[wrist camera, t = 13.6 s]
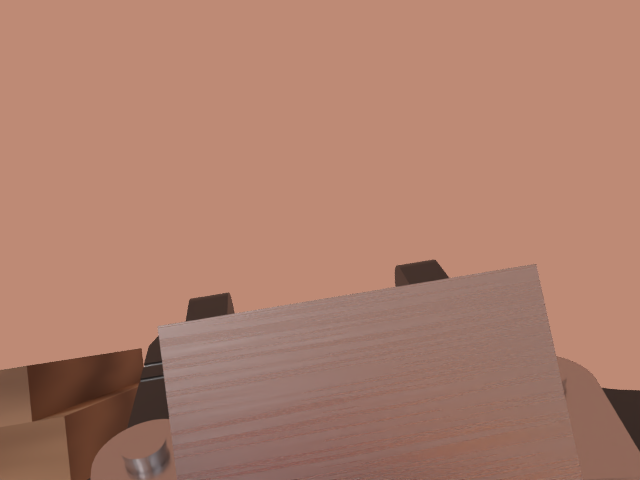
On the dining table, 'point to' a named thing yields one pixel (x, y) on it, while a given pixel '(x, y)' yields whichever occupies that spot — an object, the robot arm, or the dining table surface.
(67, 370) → the beam stand
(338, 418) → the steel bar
